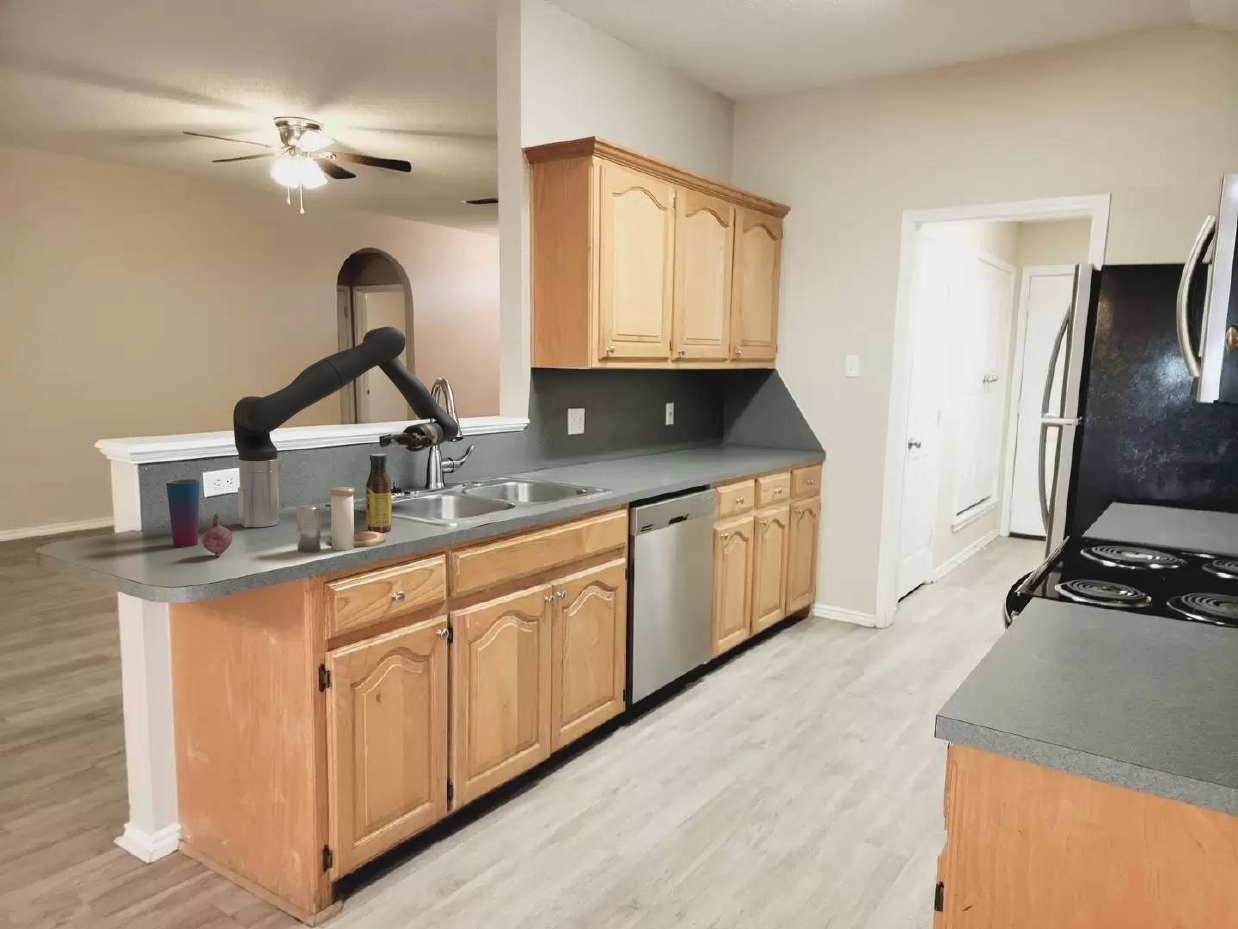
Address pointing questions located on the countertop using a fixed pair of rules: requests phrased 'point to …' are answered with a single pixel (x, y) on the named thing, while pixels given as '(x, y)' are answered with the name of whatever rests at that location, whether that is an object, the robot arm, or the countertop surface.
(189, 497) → the cup
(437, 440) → the robot arm
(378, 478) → the sauce bottle
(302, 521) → the spice tin
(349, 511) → the cream jar
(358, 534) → the oak coaster
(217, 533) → the vegetable
